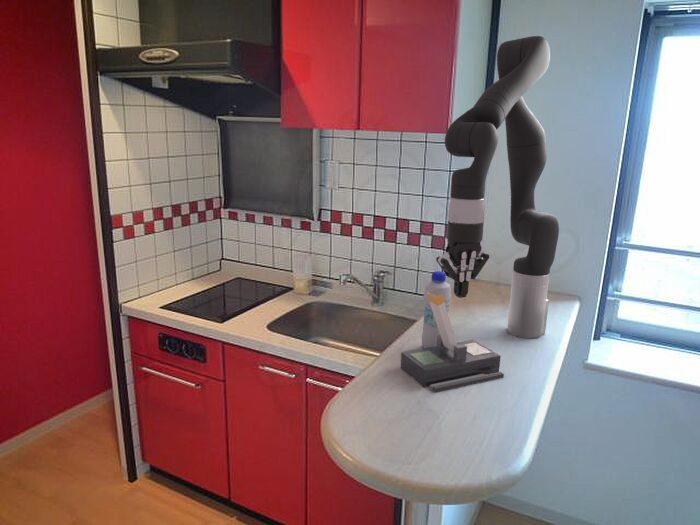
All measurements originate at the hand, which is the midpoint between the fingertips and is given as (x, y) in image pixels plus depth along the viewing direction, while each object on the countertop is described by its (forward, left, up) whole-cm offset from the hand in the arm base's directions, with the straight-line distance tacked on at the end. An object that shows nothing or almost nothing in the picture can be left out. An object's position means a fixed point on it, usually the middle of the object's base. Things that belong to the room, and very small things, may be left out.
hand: (460, 296), depth 116 cm
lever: (+1, 0, -12) cm, 12 cm away
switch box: (+1, 0, -18) cm, 18 cm away
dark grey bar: (+1, +6, -18) cm, 19 cm away
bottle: (-2, -12, -18) cm, 21 cm away
